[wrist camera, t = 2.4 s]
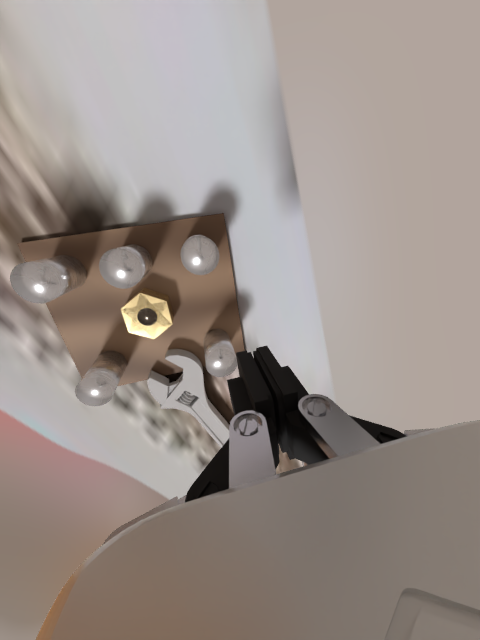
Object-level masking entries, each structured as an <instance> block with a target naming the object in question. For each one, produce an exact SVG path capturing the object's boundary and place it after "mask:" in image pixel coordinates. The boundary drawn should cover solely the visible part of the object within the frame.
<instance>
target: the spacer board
mask: <svg viewBox="0 0 480 640" xmlns="http://www.w3.org/2000/svg"><path fill="white" fill-rule="evenodd" d="M193 235H203V236H205V237H207V238H209V239H211V240H212V241H213V242H214V243H215V244H216V246H217V248H218V251H219V262H218V264H217V266H216V268H215V269H214V270H213V271H212V272H210V273H208V274H205V275H196V274H193V273H191V272H189V271H188V270H187V269H186V268H185V267H184V265H183V263H182V261H181V248H182V246H183V244H184V243H185V241H186V240H187V239H188V238H189V237H190V236H193ZM17 245H18V247H19V249H20V251H21V253H22V255H23V257H24V259H25V261H26V262H30V261H35V260H41V259H46V258H51V257H56V256H61V255H68V256H72V257H75V258H76V259H78V260H79V261H81V262H82V264H83V265H84V266H85V268H86V271H87V279H86V281H85V283H84V284H83V285H82V286H80V287H78V288H76V289H74V290H72V291H70V292H68V293H66V294H64V295H62V296H60V297H58V298H56V299H54V300H52V301H50V302H47V303H46V305H47V307H48V309H49V311H50V313H51V315H52V317H53V319H54V321H55V323H56V325H57V328H58V330H59V332H60V334H61V336H62V338H63V340H64V342H65V344H66V346H67V348H68V350H69V352H70V355H71V357H72V359H73V361H74V363H75V365H76V367H77V369H78V371H79V373H80V375H81V377H82V378H83V377H84V375H85V374H86V373H87V371H88V370H89V369H90V367H91V366H92V364H93V363H94V362H95V360H96V359H97V358H98V356H99V355H100V354H101V353H103V352H105V351H117V352H119V353H121V354H122V355H124V357H125V358H126V360H127V367H126V369H125V371H124V373H123V375H122V377H121V379H120V382H119V384H118V386H121V385H125V384H130V383H134V382H138V381H143V380H147V379H148V376H149V373H150V372H151V370H152V371H154V372H156V373H158V374H160V375H162V376H165V375H170V374H174V373H178V372H183V368H181V367H179V366H177V365H176V364H174V363H172V362H170V361H168V360H166V359H165V355H166V352H167V351H168V350H170V349H182V350H186V351H189V352H191V353H193V354H194V355H195V356H197V357H198V359H199V360H200V362H201V364H202V367H205V366H206V362H205V352H204V342H203V340H204V337H205V335H206V333H207V332H209V331H210V330H212V329H222V330H224V331H226V332H227V333H228V335H229V337H230V340H231V343H232V346H233V349H234V352H235V355H236V352H241V351H245V350H244V344H243V337H242V330H241V324H240V317H239V311H238V304H237V298H236V291H235V285H234V278H233V271H232V265H231V258H230V252H229V245H228V239H227V232H226V226H225V219H224V213H222V214H215V215H208V216H201V217H194V218H187V219H180V220H173V221H167V222H160V223H153V224H146V225H139V226H132V227H125V228H119V229H112V230H105V231H98V232H91V233H84V234H77V235H71V236H64V237H57V238H50V239H43V240H36V241H29V242H23V243H17ZM128 245H139V246H142V247H144V248H145V249H146V250H147V251H148V252H149V253H150V255H151V257H152V262H153V264H152V268H151V270H150V272H149V273H148V274H147V275H146V276H145V277H144V278H142V279H141V280H140V281H139V282H138V283H137V284H136V285H135V286H133V287H131V288H126V289H121V288H116V287H114V286H112V285H110V284H109V283H107V282H106V281H105V280H104V278H103V277H102V275H101V273H100V270H99V262H100V259H101V257H102V255H103V254H104V253H105V252H107V251H108V250H111V249H115V248H119V247H123V246H128ZM143 288H147V289H150V290H153V291H156V292H159V293H162V294H165V295H168V296H169V300H170V304H171V308H172V312H173V316H174V319H173V324H172V325H171V326H170V327H169V328H167V329H166V330H165V331H164V332H162V333H161V334H160V335H159V336H158V337H156V338H155V339H151V338H148V337H144V336H140V335H136V334H133V333H129V332H128V329H127V326H126V323H125V320H124V317H123V315H122V312H121V308H122V307H123V306H124V305H125V304H126V303H127V302H128V301H129V300H130V299H131V298H132V297H134V296H135V295H136V294H137V293H138V292H140V291H141V290H142V289H143Z"/></svg>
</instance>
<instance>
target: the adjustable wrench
mask: <svg viewBox="0 0 480 640" xmlns="http://www.w3.org/2000/svg"><path fill="white" fill-rule="evenodd" d="M165 359H166V360H168V361H170V362H172V363H174V364H176V365H177V366H179V367H181V368H183V373H182V375H181V376H180V377H179V378H178V379H177V380H176V381H175V382H172V383H169V379H168V378H166V377H164V376H162V375H160V374H158V373H156V372H154V371H152V370H151V372H150V373H149V376H148V380H147V383H148V388H149V391H150V393H151V395H152V396H153V397H154V398H155V400H157V401H158V402H159V403H160V408H162V409H163V408H167V409H169V408H175V409H179V410H183V411H186V412H188V413H190V414H191V415H193V416H194V417H195V418H196V419H197V420H198V421H199V422H200V424H201V425H202V426H203V427H204V428H205V429H206V431H207V432H208V433H209V434H210V435H211V437H212V438H213V439H214V440H215V441H216V442H217V444H218V445H219V446H220V447H221V448H222V446H223V445H224V444H225V443H226V441H227V440H228V439H229V426H230V425H229V424H228V423H227V421H226V420H225V419H224V418H223V417H222V415H221V414H220V413H219V412H218V411H217V409H216V408H215V407H214V406H213V405H212V403H211V402H210V401H209V399H208V398H207V395H206V392H205V387H204V381H203V368H202V364H201V362H200V360H199V359H198V357H197V356H195V355H194V354H193V353H191V352H189V351H186V350H182V349H170V350H168V351H167V352H166V355H165Z"/></svg>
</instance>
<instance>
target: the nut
mask: <svg viewBox="0 0 480 640" xmlns="http://www.w3.org/2000/svg"><path fill="white" fill-rule="evenodd" d="M121 312H122V315H123V317H124V320H125V323H126V326H127V329H128V332H129V333H133V334H136V335H140V336H144V337H148V338H151V339H155V338H156V337H158V336H159V335H160V334H161V333H162V332H164V331H165V330H166V329H167V328H169V327H170V326H171V325H172V324H173V319H174V316H173V312H172V308H171V304H170V300H169V296H168V295H165V294H162V293H159V292H156V291H153V290H150V289H147V288H143V289H142V290H141V291H140V292H138V293H137V294H136V295H135V296H134V297H132V298H131V299H130V300H129V301H128V302H127V303H126V304H125V305H124V306H123V307H122V308H121Z"/></svg>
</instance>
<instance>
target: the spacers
mask: <svg viewBox="0 0 480 640" xmlns="http://www.w3.org/2000/svg"><path fill="white" fill-rule="evenodd" d="M181 261H182V263H183V265H184V267H185V268H186V269H187V270H188V271H189V272H191V273H193V274H196V275H205V274H208V273H210V272H212V271H213V270H214V269H215V268H216V266H217V264H218V262H219V251H218V248H217V246H216V244H215V243H214V242H213V241H212V240H211V239H209V238H207V237H205V236H203V235H193V236H190V237H189V238H188V239H187V240H186V241H185V243H184V244H183V246H182V248H181ZM152 264H153V262H152V257H151V255H150V253H149V252H148V251H147V250H146V249H145V248H144V247H142V246H139V245H128V246H123V247H119V248H115V249H111V250H108V251H107V252H105V253H104V254H103V255H102V257H101V259H100V262H99V270H100V273H101V275H102V277H103V278H104V280H105V281H106V282H107V283H109V284H110V285H112V286H114V287H116V288H121V289H126V288H131V287H133V286H135V285H136V284H137V283H138V282H139V281H140V280H141V279H142V278H144V277H145V276H146V275H147V274H148V273H149V272H150V270H151V268H152ZM86 279H87V271H86V268H85V266H84V265H83V264H82V262H81V261H79V260H78V259H76V258H75V257H72V256H68V255H61V256H56V257H51V258H46V259H41V260H35V261H30V262H25V263H21V264H19V265H17V266H16V267H15V268H14V269H13V270H12V272H11V275H10V281H11V285H12V287H13V289H14V290H15V292H16V293H17V294H18V295H19V296H21V297H22V298H24V299H25V300H27V301H30V302H33V303H47V302H50V301H52V300H54V299H56V298H58V297H60V296H62V295H64V294H66V293H68V292H70V291H72V290H74V289H76V288H78V287H80V286H82V285H83V284H84V283H85V281H86ZM203 342H204V352H205V362H206V368H207V371H208V372H209V373H210V374H211V375H213V376H216V377H225V376H228V375H230V374H231V373H232V372H233V371H234V370H235V369H236V367H237V358H236V355H235V352H234V349H233V346H232V343H231V340H230V337H229V335H228V333H227V332H226V331H224V330H222V329H212V330H210V331H209V332H207V333H206V335H205V337H204V340H203ZM126 367H127V360H126V358H125V357H124V355H122V354H121V353H119V352H117V351H105V352H103V353H101V354H100V355H99V356H98V358H97V359H96V360H95V362H94V363H93V364H92V366H91V367H90V369H89V370H88V371H87V373H86V374H85V375H84V377H83V378H82V379H81V381H80V382H79V383H78V385H77V386H76V389H75V393H76V396H77V398H78V399H79V400H80V401H81V402H83V403H84V404H87V405H90V406H100V405H103V404H106V403H107V402H109V401H110V399H111V398H112V396H113V394H114V392H115V390H116V388H117V386H118V384H119V382H120V379H121V377H122V375H123V373H124V371H125V369H126Z"/></svg>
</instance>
